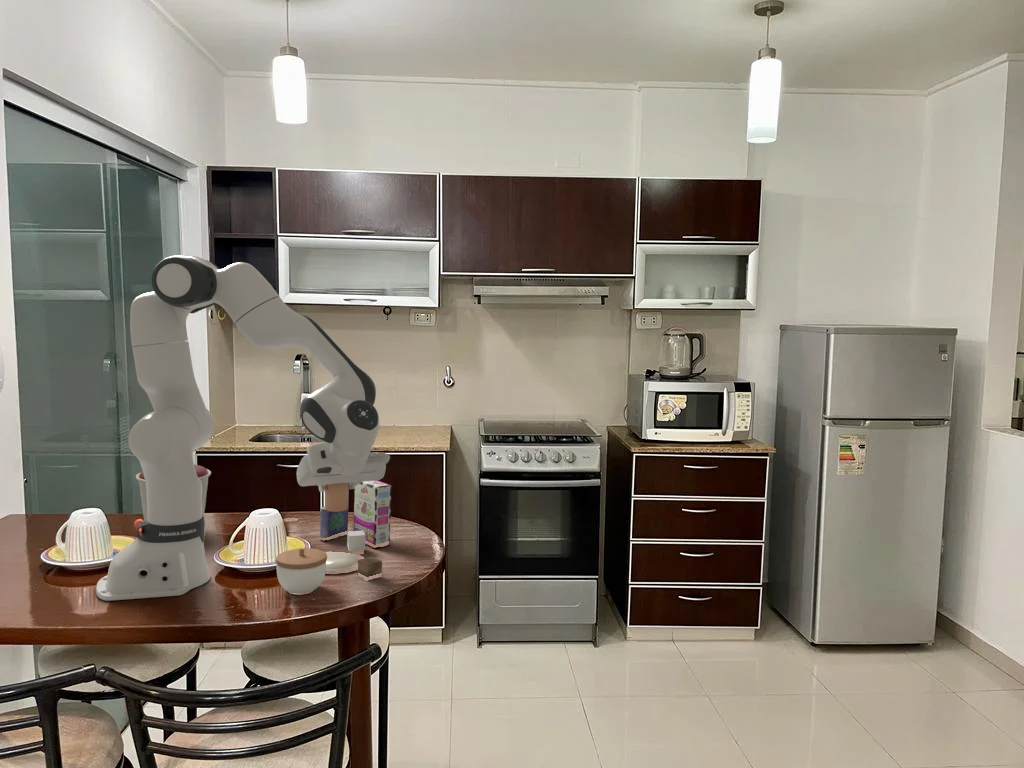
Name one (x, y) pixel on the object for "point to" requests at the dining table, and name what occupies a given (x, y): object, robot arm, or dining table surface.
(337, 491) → the tan cylinder
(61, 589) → the dining table surface
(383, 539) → the candy bar box
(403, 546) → the dining table surface
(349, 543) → the grey block
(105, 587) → the robot arm
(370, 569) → the walnut block
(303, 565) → the lidded jar
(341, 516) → the flask
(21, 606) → the dining table surface
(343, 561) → the cream plate
